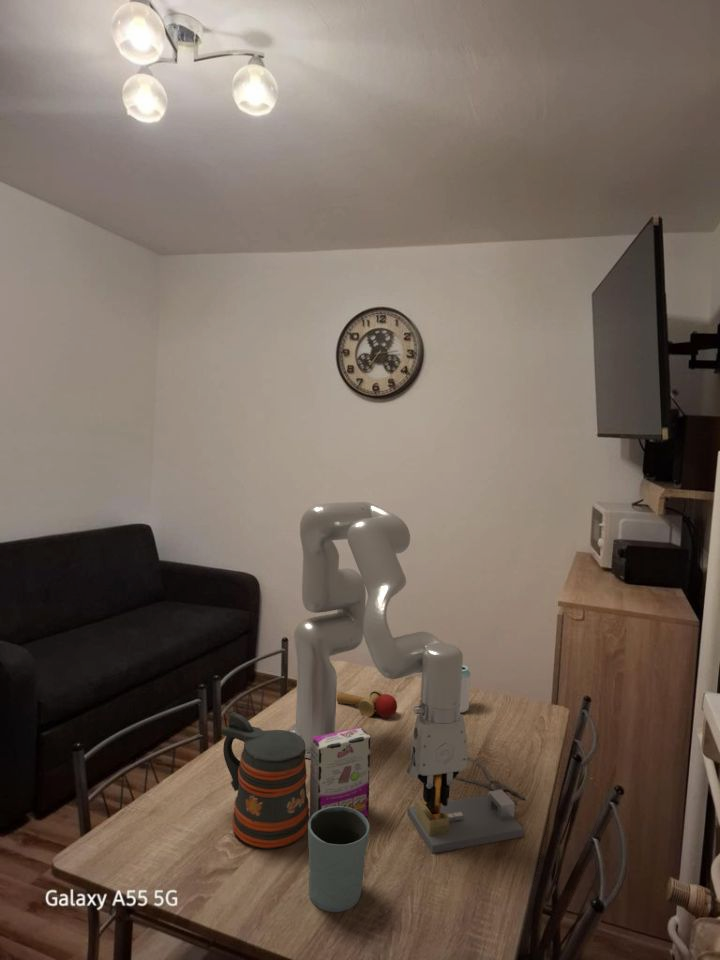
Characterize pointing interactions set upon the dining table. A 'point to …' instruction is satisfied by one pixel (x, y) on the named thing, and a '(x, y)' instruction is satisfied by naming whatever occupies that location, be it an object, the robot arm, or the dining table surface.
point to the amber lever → (438, 791)
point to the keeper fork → (431, 819)
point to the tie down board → (469, 825)
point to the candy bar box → (340, 770)
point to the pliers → (494, 784)
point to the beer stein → (267, 784)
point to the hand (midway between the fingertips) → (435, 802)
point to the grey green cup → (336, 857)
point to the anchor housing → (501, 804)
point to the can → (465, 689)
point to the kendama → (371, 703)
